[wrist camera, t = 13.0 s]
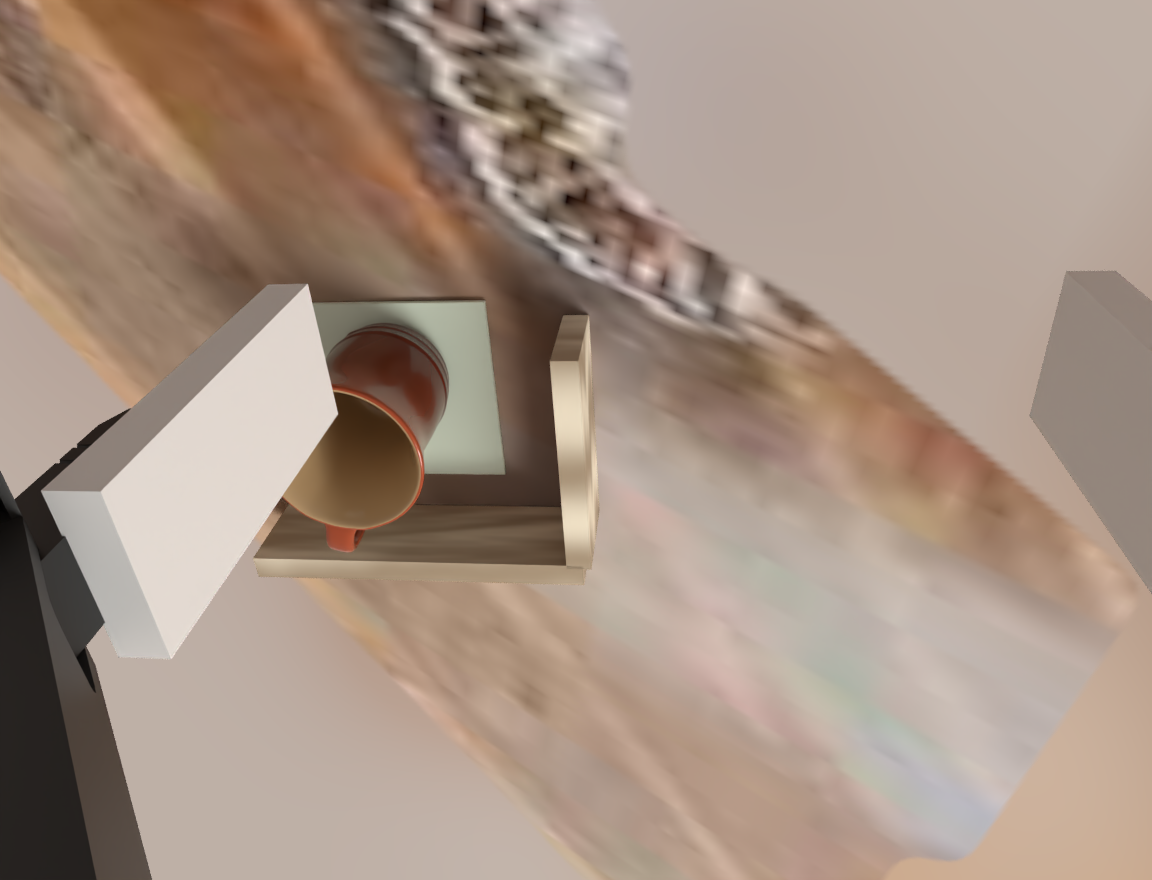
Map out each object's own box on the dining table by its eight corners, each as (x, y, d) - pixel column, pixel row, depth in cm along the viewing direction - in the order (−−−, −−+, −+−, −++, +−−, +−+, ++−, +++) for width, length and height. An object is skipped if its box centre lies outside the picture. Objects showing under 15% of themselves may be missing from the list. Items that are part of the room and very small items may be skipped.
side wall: (563, 315, 50) (549, 361, 45) (588, 314, 50) (578, 361, 44) (576, 510, 57) (566, 568, 52) (599, 510, 57) (591, 569, 52)
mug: (330, 288, 50) (256, 368, 41) (476, 323, 50) (433, 410, 42) (319, 454, 56) (254, 553, 48) (449, 485, 57) (407, 589, 48)
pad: (288, 302, 51) (286, 304, 51) (485, 299, 50) (484, 302, 49) (330, 470, 57) (328, 472, 57) (505, 471, 56) (505, 474, 56)
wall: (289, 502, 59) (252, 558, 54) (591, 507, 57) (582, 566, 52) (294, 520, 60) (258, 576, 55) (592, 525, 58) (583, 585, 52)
